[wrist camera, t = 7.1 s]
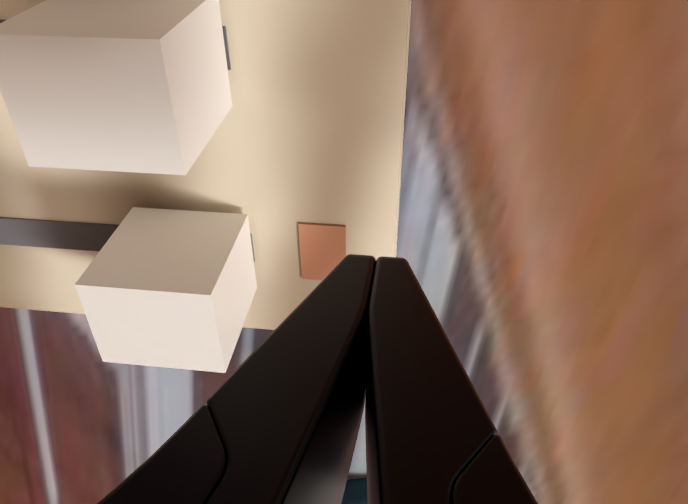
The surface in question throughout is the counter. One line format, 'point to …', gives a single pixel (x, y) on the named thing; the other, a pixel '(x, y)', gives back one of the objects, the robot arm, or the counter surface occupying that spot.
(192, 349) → the switch
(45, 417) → the counter surface
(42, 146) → the switch
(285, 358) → the robot arm
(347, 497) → the external hard drive
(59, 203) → the switch board
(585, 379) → the counter surface
